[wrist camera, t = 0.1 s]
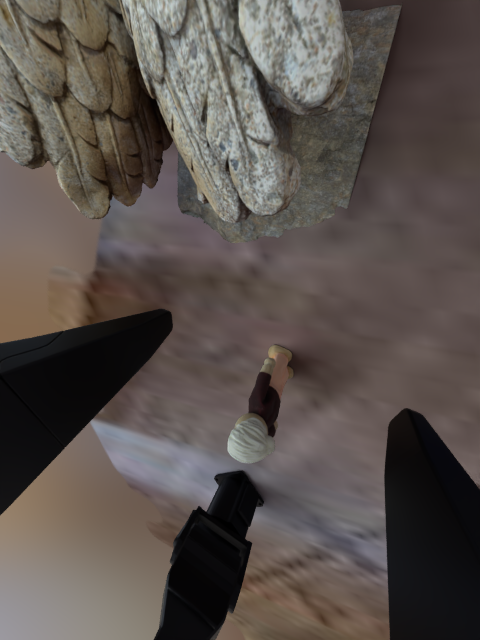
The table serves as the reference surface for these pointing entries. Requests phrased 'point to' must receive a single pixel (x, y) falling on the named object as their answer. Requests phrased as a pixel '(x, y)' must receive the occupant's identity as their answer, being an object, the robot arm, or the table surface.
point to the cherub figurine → (195, 102)
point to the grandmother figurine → (262, 410)
